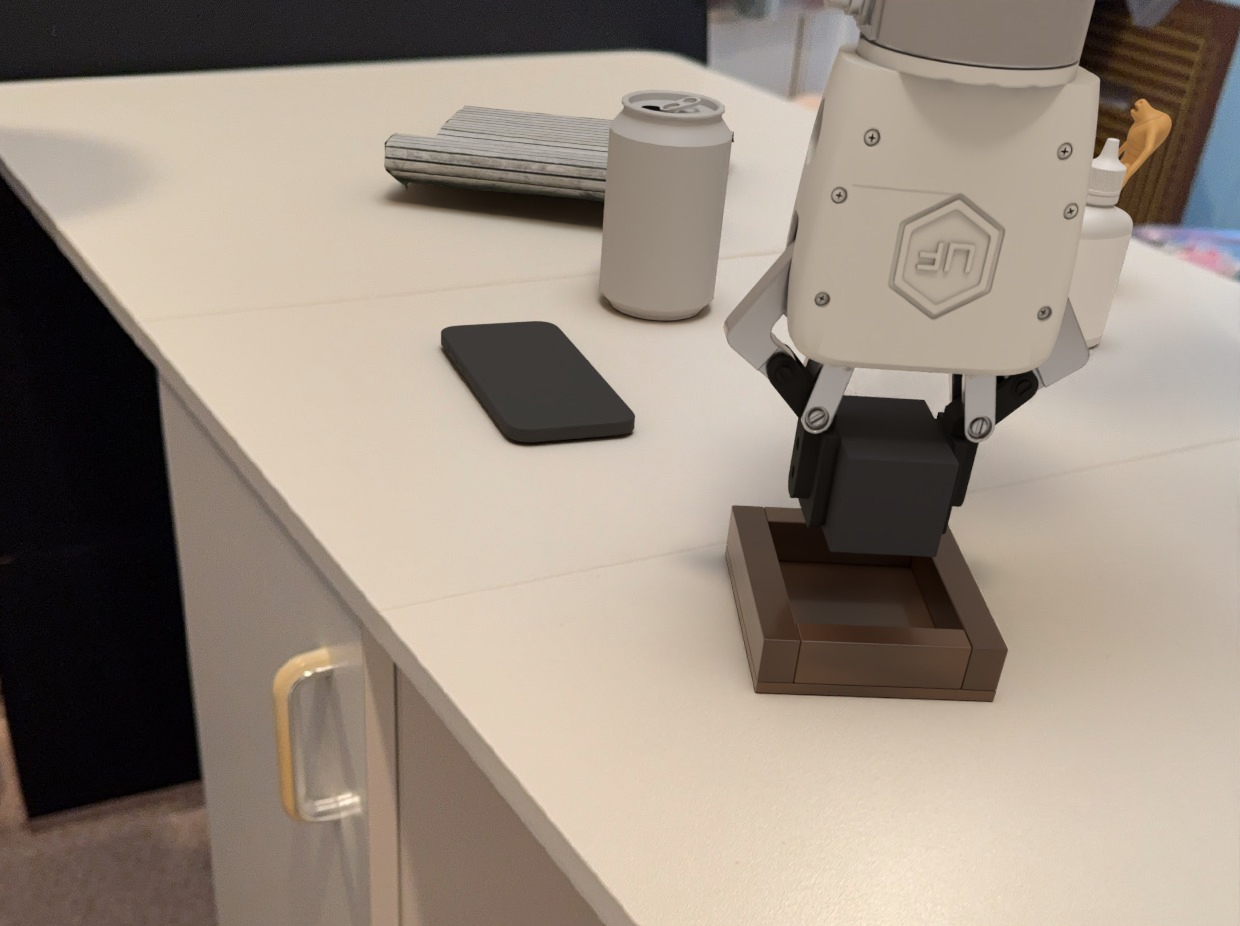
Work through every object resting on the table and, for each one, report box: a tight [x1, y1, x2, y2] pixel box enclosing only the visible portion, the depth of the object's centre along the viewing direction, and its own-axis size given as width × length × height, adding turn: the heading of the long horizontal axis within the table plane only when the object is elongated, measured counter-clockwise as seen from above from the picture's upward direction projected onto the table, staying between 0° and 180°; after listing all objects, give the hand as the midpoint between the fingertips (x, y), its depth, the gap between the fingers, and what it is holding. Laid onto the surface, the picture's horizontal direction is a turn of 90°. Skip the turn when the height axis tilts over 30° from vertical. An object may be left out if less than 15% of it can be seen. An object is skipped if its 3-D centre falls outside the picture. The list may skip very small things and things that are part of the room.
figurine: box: [1118, 98, 1173, 191], centre depth 99 cm, size 8×6×12 cm
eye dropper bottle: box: [1068, 137, 1134, 349], centre depth 89 cm, size 4×6×12 cm
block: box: [821, 394, 959, 557], centre depth 59 cm, size 6×4×4 cm
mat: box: [383, 105, 735, 203], centre depth 112 cm, size 23×24×5 cm
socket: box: [724, 504, 1009, 702], centre depth 63 cm, size 10×12×2 cm
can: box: [598, 89, 733, 322], centre depth 90 cm, size 8×8×12 cm
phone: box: [440, 320, 636, 443], centre depth 82 cm, size 7×1×15 cm
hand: (870, 512), depth 60 cm, fingers closed on block, 4 cm apart
